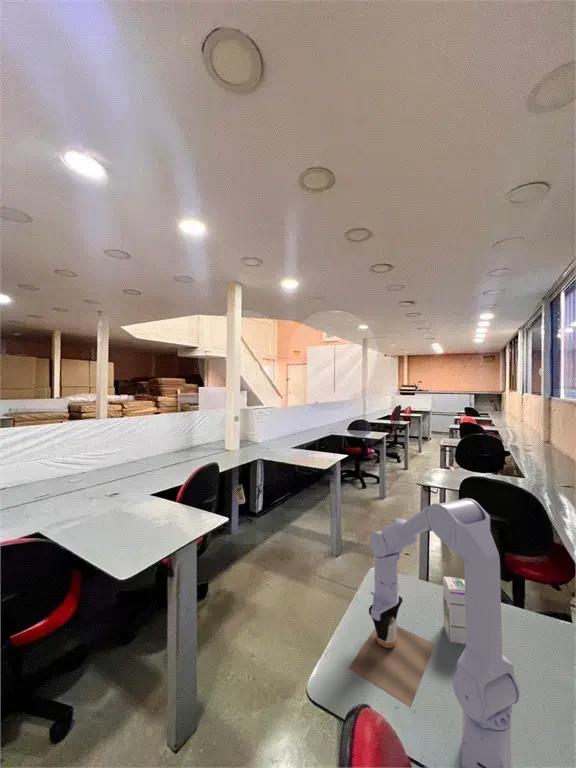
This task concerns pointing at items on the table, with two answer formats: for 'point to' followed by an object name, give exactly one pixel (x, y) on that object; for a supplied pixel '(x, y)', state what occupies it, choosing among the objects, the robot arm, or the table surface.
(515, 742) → the table surface
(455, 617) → the syrup box
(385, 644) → the sleeve
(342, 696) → the table surface
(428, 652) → the pin board
